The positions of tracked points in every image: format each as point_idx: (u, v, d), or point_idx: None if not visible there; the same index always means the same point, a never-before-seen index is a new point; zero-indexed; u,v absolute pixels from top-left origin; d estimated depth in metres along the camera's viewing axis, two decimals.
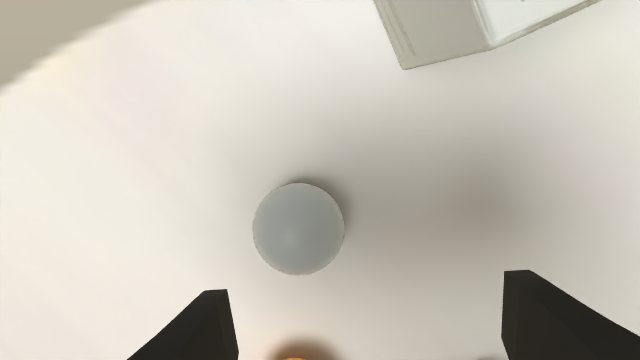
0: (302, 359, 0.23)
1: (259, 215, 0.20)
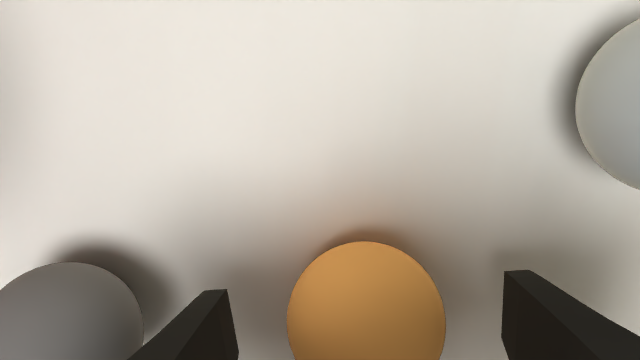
0: None
1: None
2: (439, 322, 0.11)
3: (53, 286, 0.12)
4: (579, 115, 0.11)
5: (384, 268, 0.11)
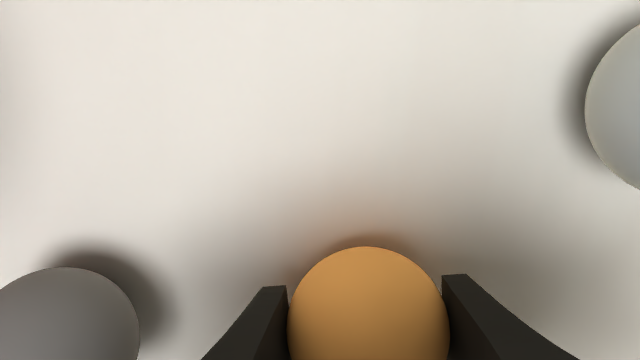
0: None
1: None
2: (443, 330, 0.11)
3: (46, 293, 0.11)
4: (589, 117, 0.10)
5: (387, 274, 0.11)
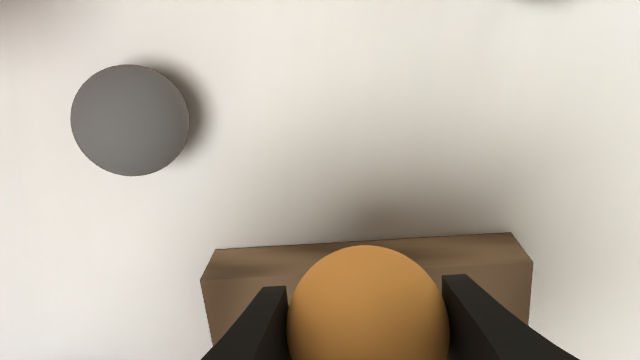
0: None
1: None
2: (443, 329, 0.11)
3: (130, 69, 0.16)
4: None
5: (387, 273, 0.11)
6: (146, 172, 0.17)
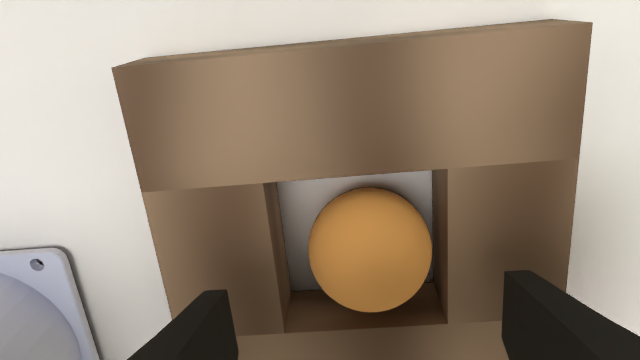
0: None
1: None
2: (429, 239, 0.15)
3: None
4: None
5: (388, 201, 0.14)
6: None
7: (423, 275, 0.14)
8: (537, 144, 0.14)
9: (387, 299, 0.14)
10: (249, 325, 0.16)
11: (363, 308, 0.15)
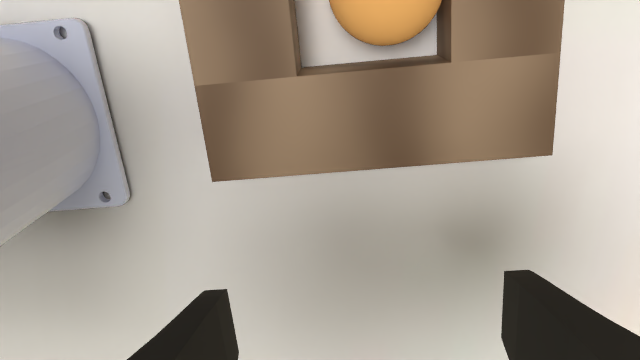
0: None
1: None
2: None
3: None
4: None
5: None
6: None
7: None
8: None
9: (411, 5, 0.15)
10: (263, 67, 0.17)
11: (387, 22, 0.15)
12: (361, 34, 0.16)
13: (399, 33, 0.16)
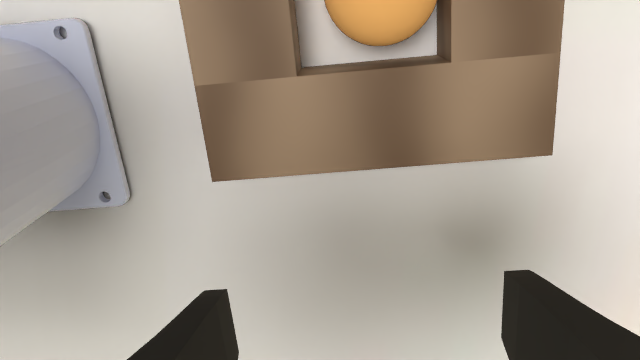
0: None
1: None
2: None
3: None
4: None
5: None
6: None
7: None
8: None
9: (402, 6, 0.15)
10: (263, 67, 0.17)
11: (378, 23, 0.15)
12: (354, 35, 0.16)
13: (391, 34, 0.16)
